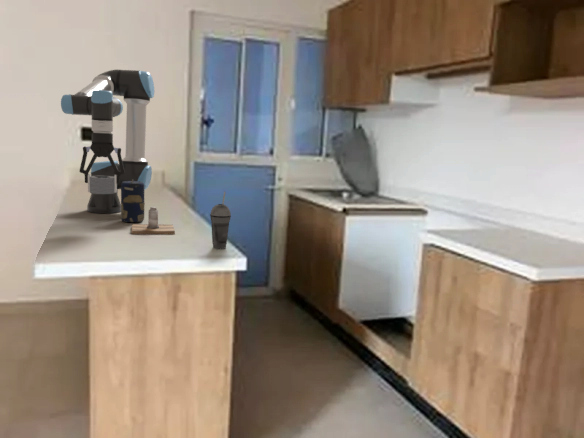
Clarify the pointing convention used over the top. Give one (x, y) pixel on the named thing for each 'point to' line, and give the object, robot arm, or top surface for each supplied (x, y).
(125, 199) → the canister
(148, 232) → the post block
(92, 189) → the ring
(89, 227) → the top surface
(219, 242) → the beverage cup
